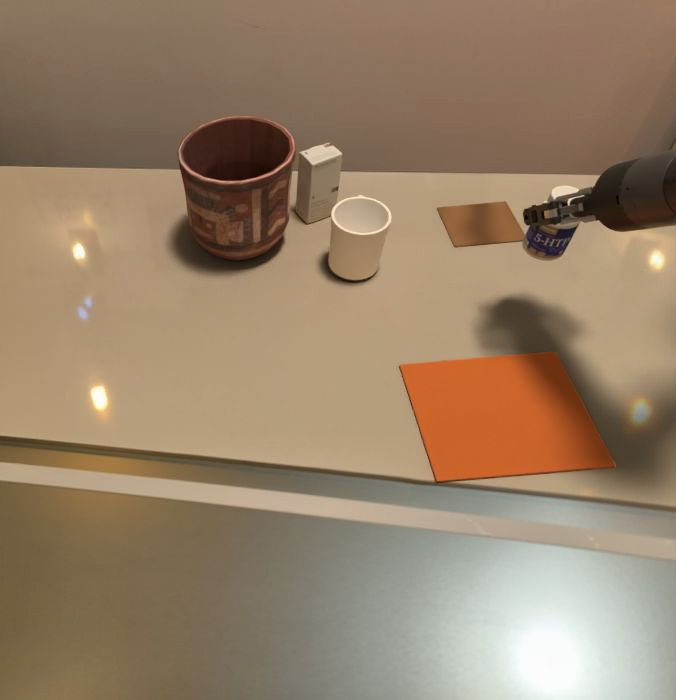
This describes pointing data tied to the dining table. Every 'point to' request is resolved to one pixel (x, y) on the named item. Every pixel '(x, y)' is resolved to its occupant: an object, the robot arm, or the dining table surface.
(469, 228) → the cork pad
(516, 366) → the towel
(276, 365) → the dining table surface
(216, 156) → the pottery
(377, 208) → the mug
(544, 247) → the pill bottle
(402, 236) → the dining table surface
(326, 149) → the cosmetic box
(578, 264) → the dining table surface
